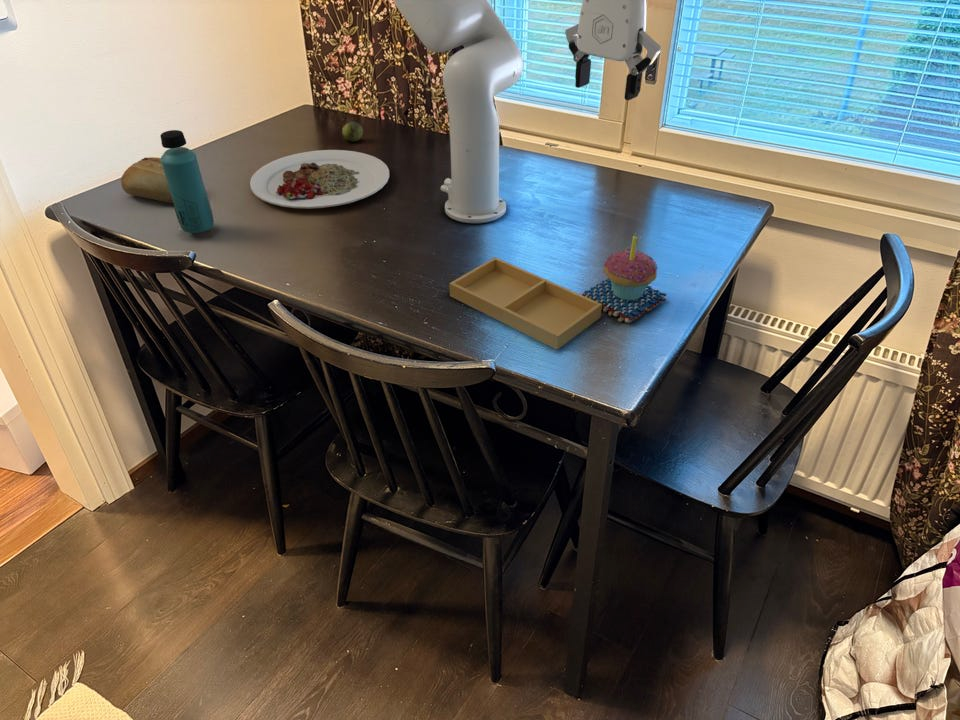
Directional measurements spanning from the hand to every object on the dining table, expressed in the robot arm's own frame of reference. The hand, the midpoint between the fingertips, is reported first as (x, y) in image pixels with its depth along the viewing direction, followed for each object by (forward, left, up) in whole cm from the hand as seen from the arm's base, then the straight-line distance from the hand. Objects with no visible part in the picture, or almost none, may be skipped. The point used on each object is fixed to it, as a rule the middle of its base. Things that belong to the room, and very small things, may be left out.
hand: (606, 91), depth 118 cm
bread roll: (-81, -44, -28) cm, 96 cm away
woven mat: (+16, -13, -28) cm, 35 cm away
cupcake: (+16, -13, -26) cm, 33 cm away
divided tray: (+4, -25, -28) cm, 38 cm away
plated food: (-60, -17, -28) cm, 69 cm away
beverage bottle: (-60, -47, -28) cm, 81 cm away
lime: (-74, +4, -28) cm, 79 cm away
